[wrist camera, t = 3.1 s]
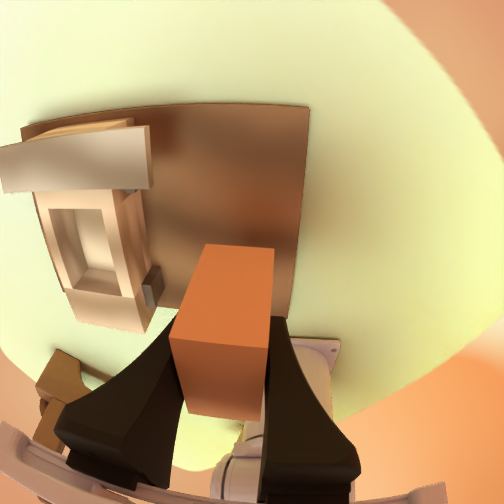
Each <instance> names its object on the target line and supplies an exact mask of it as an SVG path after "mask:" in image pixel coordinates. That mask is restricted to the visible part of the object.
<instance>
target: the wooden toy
mask: <svg viewBox="0 0 504 504" xmlns="http://www.w3.org/2000/svg"><path fill="white" fill-rule="evenodd" d="M35 387H36V390H37V392H38V394H39V396H40V397H41V399H40V412H41V416H42V419H41V421H40V423H39V425H38V427H37V429H36V431H35V434H34V436H33V441H34V442H36V443H38V444H40V445H42V446H44V447H46V448H48V449H51V450H53V451H55V452H57V453H59V454H61V455H62V452H63V450H64V447H65V444H64V443H63V442H62V441H61V440H60V439H59V438H58V437H57V436H56V435H55V433H54V431H53V429H54V427H55V425H56V422H57V420H58V418H59V416H60V413H61V411H62V410H63V408H64V406H65V405H66V404H68V403H70V402H73V401H75V400H77V399H79V398H81V397H83V396H85V395H87V394H88V393H90V392H92V390H90V389H89V388H87V387H86V386H85V385H84V383H83V382H82V380H81V367H80V361H79V360H78V359H76V358H74V357H72V356H70V355H68V354H66V353H64V352H62V351H60V350H59V349H56V350H55V352H54V354H53V356H52V357H51V359H50V361H49V362H48V364H47V366H46V367H45V369H44V371H43V373H42V374H41V376H40V378H39V380H38V382H37V383H36V386H35ZM37 496H38V495H37ZM38 499H39V500H40V501H41V502H43V503H45V504H52V503H50V502H48V501H47V500H45V499H43V498H41V497H39V496H38Z"/></svg>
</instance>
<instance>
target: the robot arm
mask: <svg viewBox="0 0 504 504" xmlns="http://www.w3.org/2000/svg"><path fill="white" fill-rule="evenodd" d="M177 314H178V313H177ZM177 314H176V315H175V317H174V318H173V319H172V320H171V322H170V323H169V324H168V325H167V326H166V328H165V329H164V330H163V331H162V332H161V333H160V335H159V336H158V337H157V338H156V339H155V340H154V341H153V342H152V343H151V344H150V346H149V347H148V348H147V349H146V350H145V351H144V352H143V353H142V354H141V355H140V356H139V357H137V358H136V359H135V360H134V361H133V362H132V363H131V364H130V365H128V366H127V367H126V368H125V369H124V370H122V371H121V372H120V373H119V374H117V375H116V376H115V377H113V378H112V379H111V380H109V381H108V382H106V383H105V384H103V385H102V386H100V387H98V388H97V389H95V390H93V391H92V392H90V393H88V394H87V395H85V396H83V397H81V398H79V399H77V400H75V401H73V402H70V403H68V404H66V405H65V406H64V408H63V410H62V411H61V413H60V416H59V418H58V420H57V422H56V425H55V427H54V429H53V431H54V433H55V435H56V436H57V437H58V438H59V439H60V440H61V441H62V442H63V443H64V444H65V445H66V446H68V447H69V448H70V449H71V450H70V453H69V455H68V457H66V456H64V455H61V454H59V453H57V452H55V451H53V450H51V449H48V448H46V447H44V446H42V445H40V444H38V443H36V442H34V441H32V440H31V439H29V437H28V436H26V435H25V434H24V433H23V432H22V431H20V430H19V429H17V428H15V427H13V426H12V425H10V424H8V423H6V422H5V421H2V422H1V425H0V472H2V473H3V474H4V475H6V476H7V477H9V478H10V479H12V480H13V481H15V482H16V483H18V484H20V485H22V486H23V487H25V488H26V489H28V490H29V491H31V492H33V493H34V494H36V495H38V496H39V497H41V498H43V499H45V500H47V501H48V502H50V503H52V504H135V503H133V502H132V501H130V500H129V499H128V498H126V497H124V496H121V495H119V494H116V493H114V492H111V491H109V490H112V491H115V492H118V493H121V494H124V495H127V496H130V497H133V498H137V499H140V500H144V501H147V502H151V503H155V504H448V501H447V495H446V487H445V482H439V483H435V484H431V485H427V486H423V487H420V488H417V489H414V490H412V491H411V492H409V493H408V494H403V495H399V496H393V497H387V498H381V499H373V500H366V501H357V502H355V479H356V478H357V477H358V476H359V475H360V474H361V465H360V460H359V457H358V454H357V451H356V448H355V446H354V445H353V444H352V443H351V442H350V441H349V440H348V439H347V438H346V437H345V435H344V434H343V433H342V432H341V431H340V430H339V428H338V427H337V426H336V425H335V423H334V422H333V410H332V396H331V384H330V374H331V372H332V369H333V366H334V364H335V361H336V358H337V355H338V352H339V350H340V347H341V344H340V341H338V340H321V339H299V338H290V336H289V333H288V329H287V323H286V318H285V317H283V316H270V329H269V343H268V354H267V363H266V373H265V382H264V391H263V399H262V408H261V417H260V422H254V421H245V423H244V431H243V439H242V442H236V443H235V444H234V451H233V453H229V454H226V455H225V456H224V457H223V458H222V459H221V460H220V461H219V462H218V463H217V465H216V467H215V469H214V471H213V474H212V479H211V484H210V498H207V497H201V496H195V495H190V494H184V493H180V492H174V491H170V490H166V489H168V488H169V484H170V474H171V466H172V459H173V452H174V445H175V439H176V434H177V428H178V423H179V418H180V413H181V409H182V405H183V402H184V395H183V392H182V388H181V385H180V381H179V377H178V373H177V370H176V366H175V362H174V358H173V354H172V350H171V346H170V341H169V334H170V332H171V329H172V327H173V324H174V321H175V319H176V316H177ZM107 489H109V490H107Z"/></svg>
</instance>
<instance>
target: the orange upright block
mask: <svg viewBox="0 0 504 504" xmlns="http://www.w3.org/2000/svg"><path fill="white" fill-rule="evenodd" d="M274 250H275V249H273V248H259V247H245V246H231V245H217V244H205V247H204V249H203V251H202V254H201V256H200V259H199V261H198V263H197V266H196V268H195V271H194V273H193V276H192V278H191V281H190V283H189V286H188V288H187V291H186V293H185V296H184V298H183V301H182V303H181V306H180V308H179V311H178V314H177V316H176V319H175V321H174V324H173V327H172V329H171V332H170V334H169V341H170V346H171V350H172V354H173V358H174V362H175V366H176V370H177V373H178V377H179V381H180V385H181V388H182V392H183V395H184V399H185V402H186V406H187V409H188V413H190V414H196V415H203V416H210V417H217V418H225V419H234V420H243V421H254V422H260V417H261V408H262V399H263V391H264V382H265V373H266V363H267V354H268V343H269V329H270V314H271V299H272V283H273V267H274Z"/></svg>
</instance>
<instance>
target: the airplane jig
mask: <svg viewBox="0 0 504 504" xmlns="http://www.w3.org/2000/svg"><path fill="white" fill-rule="evenodd" d="M309 116H310V109H309V108H308V107H297V106H284V105H267V104H237V103H207V104H177V105H160V106H147V107H136V108H126V109H117V110H109V111H102V112H95V113H88V114H82V115H76V116H70V117H65V118H60V119H55V120H50V121H45V122H40V123H36V124H32V125H28V126H25V127H23V128H20V129H21V137H22V142H19V143H15V144H10V145H6V146H2V147H0V178H1V183H2V187H3V191H4V193H18V192H32V195H33V199H34V203H35V207H36V211H37V214H38V218H39V222H40V225H41V229H42V232H43V235H44V239H45V242H46V245H47V248H48V251H49V254H50V257H51V260H52V263H53V266H54V269H55V272H56V274H57V277H58V280H59V282H60V285H61V288H62V290H63V292H65V293H66V295H67V298H68V300H69V303H70V305H71V308H72V310H73V312H74V315H75V317H76V319H77V321H78V322H83V323H88V324H92V325H97V326H102V327H107V328H113V329H118V330H123V331H129V332H135V333H141V334H145V332H146V330H147V328H148V326H149V323H150V321H151V319H152V317H153V315H154V312H155V310H156V308H157V306H158V307H166V308H174V309H179V308H180V306H181V303H182V301H183V298H184V296H185V293H186V291H187V288H188V286H189V283H190V281H191V278H192V276H193V273H194V271H195V268H196V266H197V263H198V261H199V259H200V256H201V254H202V251H203V249H204V247H205V244H217V245H231V246H245V247H259V248H273V249H275V250H274V267H273V283H272V299H271V314H270V316H283V317H285V318H286V319H287V318H288V311H289V304H290V297H291V289H292V282H293V274H294V266H295V258H296V250H297V242H298V233H299V224H300V215H301V206H302V196H303V186H304V176H305V165H306V154H307V142H308V130H309Z"/></svg>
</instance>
